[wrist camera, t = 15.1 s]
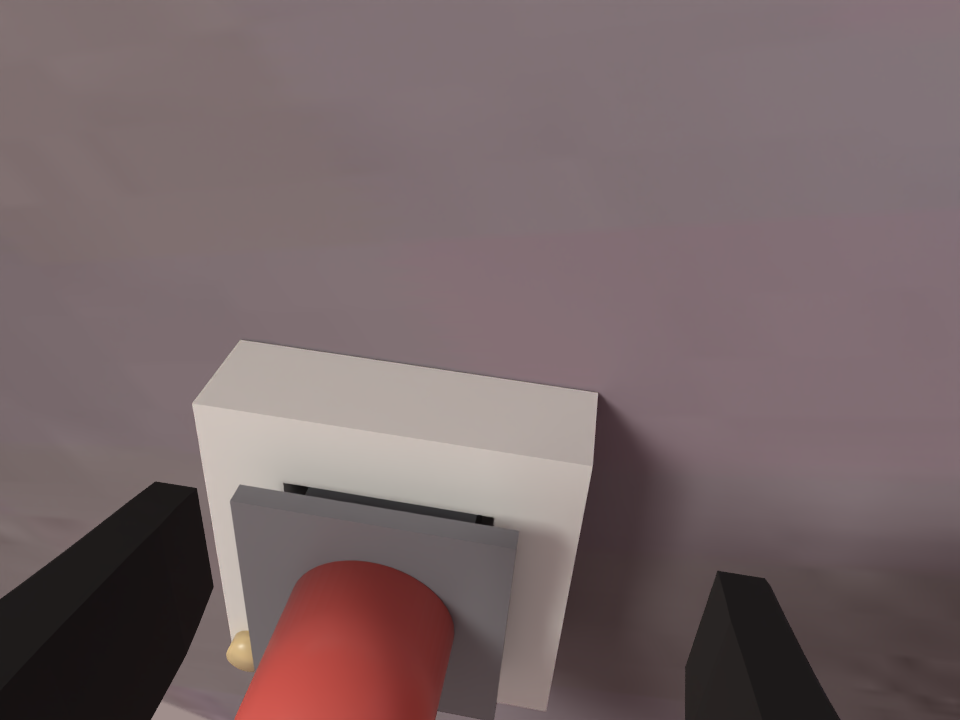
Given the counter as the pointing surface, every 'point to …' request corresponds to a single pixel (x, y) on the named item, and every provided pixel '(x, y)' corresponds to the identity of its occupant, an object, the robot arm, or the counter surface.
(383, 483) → the box
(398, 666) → the cap
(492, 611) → the switch
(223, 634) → the counter surface
